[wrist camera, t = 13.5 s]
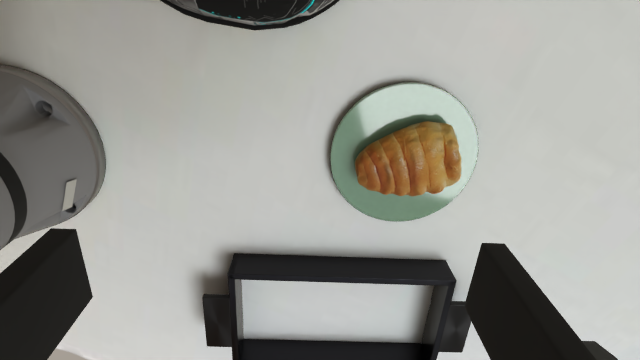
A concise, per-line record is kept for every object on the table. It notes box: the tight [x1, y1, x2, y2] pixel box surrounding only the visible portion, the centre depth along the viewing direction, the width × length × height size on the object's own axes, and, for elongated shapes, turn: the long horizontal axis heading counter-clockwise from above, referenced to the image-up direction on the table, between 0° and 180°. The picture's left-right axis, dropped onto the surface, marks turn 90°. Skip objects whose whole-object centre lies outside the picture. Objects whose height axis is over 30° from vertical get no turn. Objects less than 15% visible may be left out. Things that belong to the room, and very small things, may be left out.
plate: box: [330, 82, 478, 221], centre depth 37 cm, size 14×14×1 cm
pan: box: [203, 253, 471, 360], centre depth 44 cm, size 29×13×4 cm, turn 87°
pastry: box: [355, 121, 461, 197], centre depth 35 cm, size 9×7×4 cm
